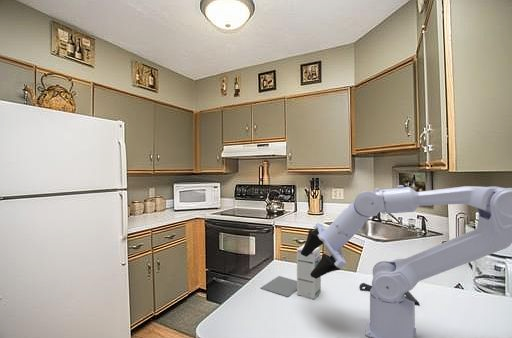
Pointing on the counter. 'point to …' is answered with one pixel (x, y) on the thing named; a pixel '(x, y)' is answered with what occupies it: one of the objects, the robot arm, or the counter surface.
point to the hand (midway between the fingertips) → (308, 265)
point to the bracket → (408, 294)
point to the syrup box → (307, 274)
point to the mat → (281, 286)
